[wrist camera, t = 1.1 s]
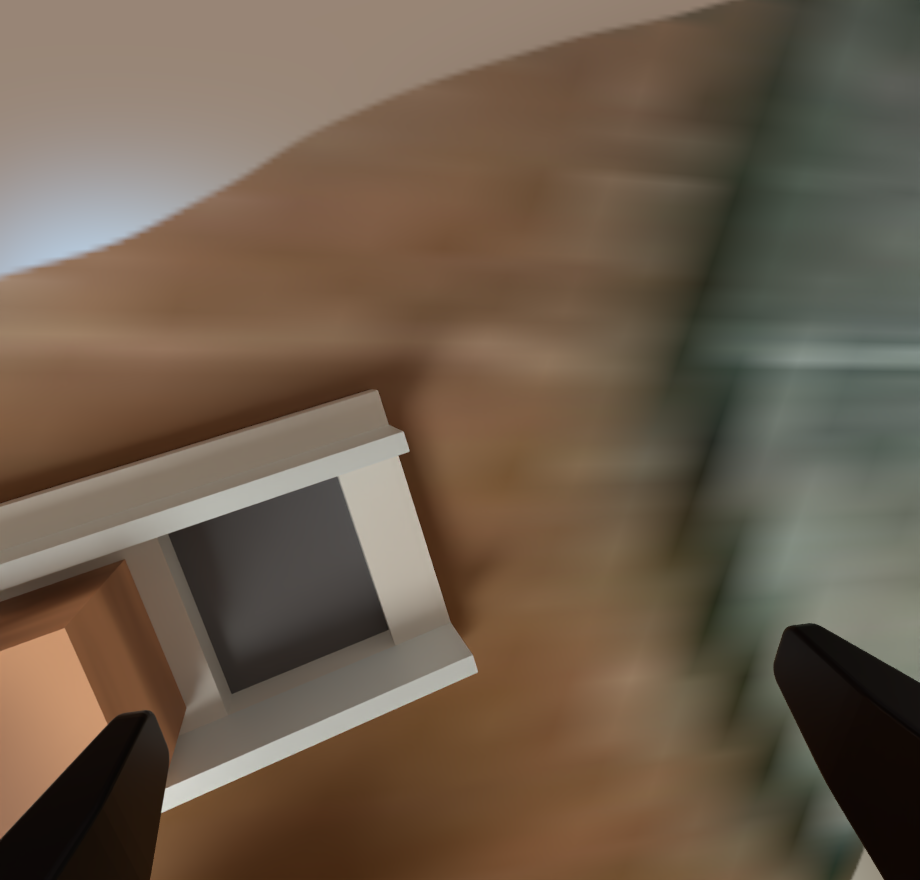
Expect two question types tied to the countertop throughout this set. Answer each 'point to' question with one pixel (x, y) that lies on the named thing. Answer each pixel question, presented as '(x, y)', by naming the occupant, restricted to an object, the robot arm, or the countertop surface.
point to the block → (74, 678)
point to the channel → (260, 581)
